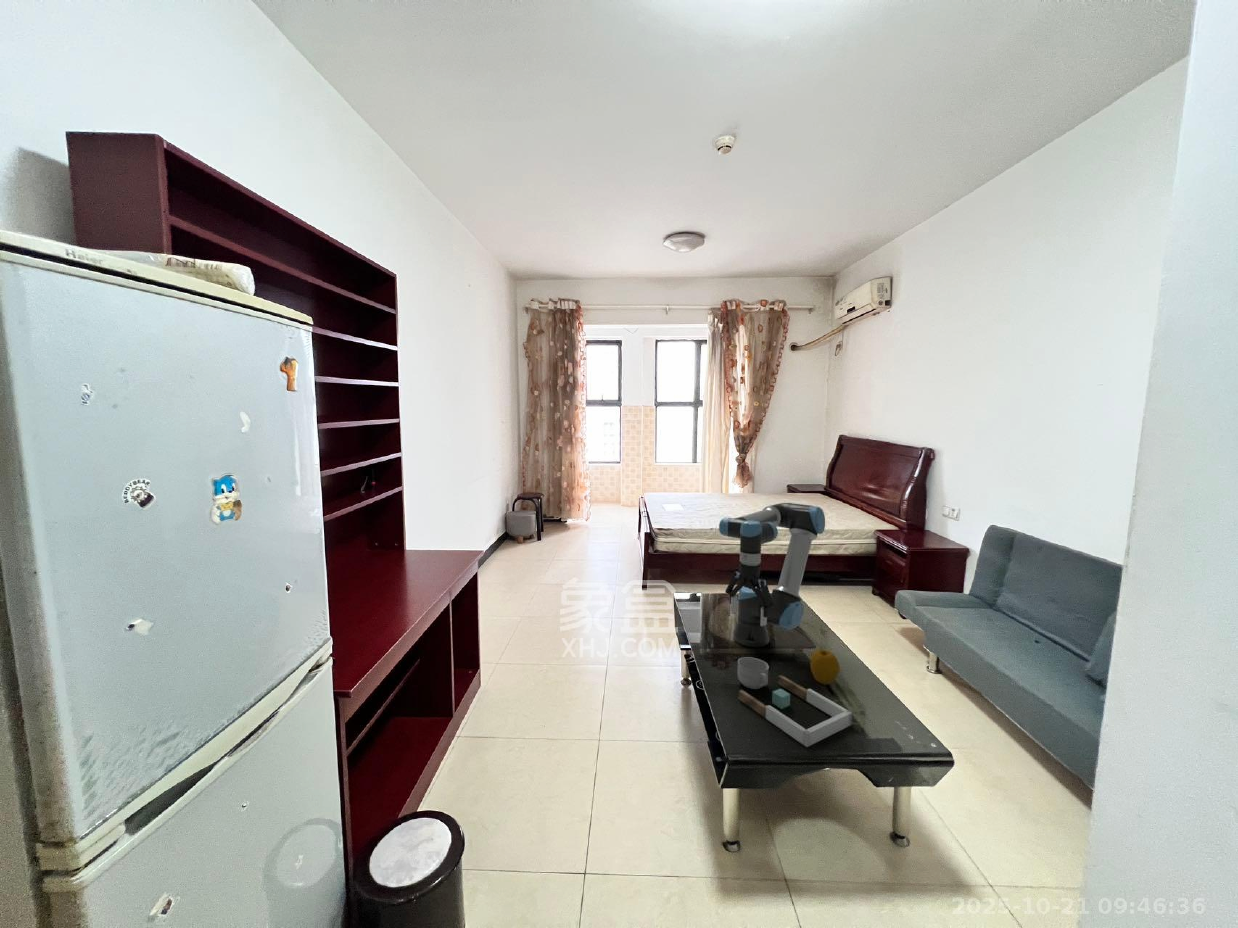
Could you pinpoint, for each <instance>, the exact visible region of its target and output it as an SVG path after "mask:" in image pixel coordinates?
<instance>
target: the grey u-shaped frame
mask: <svg viewBox="0 0 1238 928" xmlns="http://www.w3.org/2000/svg"><path fill="white" fill-rule="evenodd" d="M806 690H807V697H806V700H805V701H806V702H807V703H809V704H810V705H812V706H814V707H815V708H816V709H819V710H820V711H822V712H824V713H826V714H827V715H829V716H830V718H828V719H825V720H823V721H821V722H819V723H818V724H816V725H813V726H811V727H809V728H807V729H806V728H805V727H804V726H801V725H800V724H799V723H797V722H796V721H794V720H793V719H791V718H790V717H788V716H787V715H785V714H783V712H780V711H779V710H778V709H776V708H774V707H773V706H771V705H770V704H769V705H766V718H765V719H766V720H767V721H768V722H770V723H771V724H772V725H774V726H776V727H778V728H779V729H780V730H781V731H782V732H784V733H785V734H787V735H789V736H790V737H792V739H794V740H796V741H797V742H798V743H800V744H801V745H803V746H804V747H806V748H808V747H811V746H812V745H814V744H816V743H818V742H820V741H822V740H824V739H826V738H828V737H830V736H832V735H834V734H837V733H838V732H840V731H842V730H844V729H846V728H848V727H850V726H852V723H853V722H852V720H853V712H852V711H850V710H848V709H847V708H845V707H843V706H841V705H839V704H837V703H836V702H834V701H832V700H830V699H829V698H827V697H825V696H824V695H822V694H820V693H818V692H817V691H815V690H813V689H812V688H806Z"/></svg>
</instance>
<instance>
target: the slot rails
mask: <svg viewBox="0 0 1238 928" xmlns="http://www.w3.org/2000/svg"><path fill="white" fill-rule="evenodd" d="M777 679H778V680H777V681H778V685H779V686H781V687H782V688H784V689H785V690H788V691H789V692H790V693H792V694H794V695H796V696H797V697H799V698H801V699H802V700H804V701H806V697H807V688H805V687H803V686H801V685H800V684H798V683H796V682H794V681H792V680H791V679H789V678H787V677H786V676H784V675H782V674H780V675H778V678H777ZM738 700H739V701H740V702H742V703H743V704H745V705H746V706H748V708H751V709H752V710H753V711H754V712H756V713H757V714H759V715H761V717H763V718H765V719H766V706H767V705H766V704H764V703H763V702H761V701H760V700H758V699H757V698H755V697H754V696H752V695H751V694H749V693H748V692H747V691H745V690H743V689H740V690H738Z"/></svg>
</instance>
